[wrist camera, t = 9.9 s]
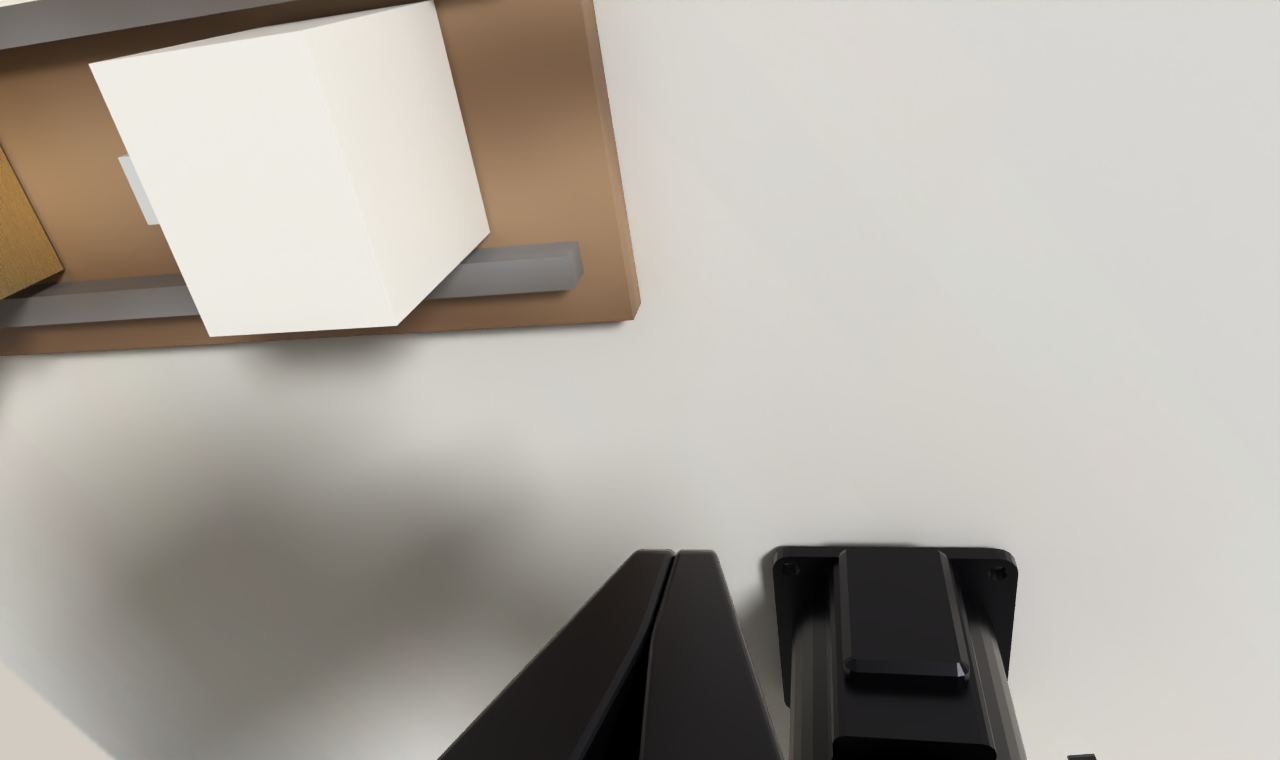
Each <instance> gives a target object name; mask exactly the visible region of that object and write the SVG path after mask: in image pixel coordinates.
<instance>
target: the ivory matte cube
mask: <svg viewBox="0 0 1280 760" xmlns="http://www.w3.org/2000/svg"><path fill="white" fill-rule="evenodd" d="M89 66H90V69H91V71H92V73H93V75H94V78H95V80H96V82H97V84H98V87H99V89H100V91H101V93H102V96H103V98H104V100H105V102H106V105H107V107H108V109H109V111H110V114H111V116H112V118H113V120H114V123H115V125H116V127H117V129H118V132H119V134H120V136H121V138H122V141H123V143H124V145H125V147H126V150H127V152H128V154H126V155H123V156H121V157H118V159H119V162H120V164H121V166H122V168H123V170H124V173H125V175H126V177H127V179H128V182H129V184H130V186H131V188H132V190H133V193H134V195H135V197H136V199H137V201H138V204H139V206H140V208H141V210H142V213H143V215H144V217H145V219H146V221H147V224H148V225H154V224H160V226H161V228H162V231H163V233H164V235H165V237H166V240H167V242H168V244H169V246H170V249H171V251H172V253H173V255H174V258H175V260H176V262H177V264H178V267H179V269H180V271H181V273H182V276H183V278H184V280H185V282H186V285H187V287H188V289H189V291H190V294H191V296H192V298H193V300H194V303H195V305H196V307H197V309H198V312H199V314H200V316H201V318H202V321H203V323H204V325H205V327H206V330H207V332H208V334H209V336H210V337H216V336H233V335H250V334H267V333H283V332H300V331H317V330H334V329H351V328H368V327H384V326H397V325H398V324H399V323H400V322H401V321H402V320H403V319H404V318H405V317H406V316H407V315H408V314H409V313H410V312H411V311H412V310H413V309H414V308H415V307H416V306H417V305H418V304H419V303H420V302H421V301H422V300H423V299H424V298H425V297H426V296H427V295H428V294H429V293H430V292H431V291H432V290H433V289H434V288H435V287H436V286H437V285H438V284H439V283H440V282H441V281H442V280H443V279H444V278H445V277H446V276H447V275H448V274H449V273H450V272H451V271H452V270H453V269H454V268H455V267H456V266H457V265H458V264H459V263H460V262H461V261H462V260H463V259H464V258H465V257H466V256H467V255H468V254H469V253H470V252H471V251H472V250H473V249H474V248H475V247H476V246H477V245H478V244H479V243H480V242H481V241H482V240H483V239H484V238H485V237H486V236H487V235H488V234H489V233H490V230H489V225H488V221H487V217H486V213H485V209H484V205H483V201H482V197H481V193H480V189H479V184H478V180H477V176H476V172H475V168H474V164H473V160H472V156H471V152H470V148H469V144H468V139H467V135H466V131H465V127H464V123H463V119H462V115H461V111H460V107H459V103H458V99H457V94H456V90H455V86H454V82H453V78H452V74H451V70H450V66H449V62H448V58H447V54H446V49H445V45H444V41H443V37H442V33H441V29H440V25H439V21H438V17H437V13H436V9H435V4H434V0H428V1H422V2H415V3H409V4H403V5H397V6H390V7H384V8H378V9H372V10H365V11H359V12H353V13H347V14H340V15H334V16H328V17H322V18H315V19H309V20H303V21H297V22H290V23H284V24H278V25H272V26H266V27H261V28H256V29H251V30H246V31H242V32H237V33H232V34H227V35H223V36H218V37H213V38H209V39H204V40H199V41H194V42H190V43H185V44H180V45H175V46H171V47H166V48H161V49H157V50H152V51H147V52H142V53H138V54H133V55H128V56H124V57H119V58H114V59H109V60H105V61H100V62H95V63H90V64H89Z"/></svg>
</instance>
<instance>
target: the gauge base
mask: <svg viewBox="0 0 1280 760" xmlns="http://www.w3.org/2000/svg"><path fill="white" fill-rule="evenodd" d="M422 1H428V0H0V147H1V148H2V150H3V152H4V154H5V156H6V158H7V160H8V162H9V164H10V166H11V168H12V170H13V172H14V174H15V176H16V177H17V179H18V181H19V183H20V185H21V187H22V189H23V191H24V193H25V195H26V197H27V199H28V201H29V203H30V205H31V206H32V208H33V210H34V212H35V214H36V216H37V218H38V220H39V222H40V224H41V226H42V228H43V230H44V232H45V234H46V236H47V237H48V239H49V241H50V243H51V245H52V247H53V249H54V251H55V253H56V255H57V257H58V259H59V261H60V263H61V265H62V266H63V268H64V270H61V271H59V272H57V273H55V274H53V275H51V276H49V277H47V278H45V279H43V280H41V281H39V282H36V283H34V284H32V285H30V286H28V287H26V288H24V289H22V290H20V291H18V292H16V293H13V294H11V295H9V296H7V297H5V298H3V299H1V300H0V356H11V355H28V354H46V353H63V352H81V351H98V350H116V349H134V348H151V347H169V346H186V345H204V344H221V343H239V342H257V341H274V340H292V339H309V338H327V337H344V336H362V335H380V334H397V333H415V332H432V331H450V330H467V329H485V328H503V327H520V326H538V325H555V324H573V323H590V322H608V321H626V320H634V318H635V315H636V313H637V311H638V308H639V306H640V304H641V301H640V294H639V288H638V282H637V275H636V269H635V263H634V257H633V250H632V244H631V238H630V231H629V225H628V219H627V213H626V206H625V200H624V194H623V187H622V181H621V175H620V169H619V162H618V156H617V150H616V143H615V137H614V131H613V125H612V118H611V112H610V106H609V99H608V93H607V87H606V81H605V74H604V68H603V62H602V55H601V49H600V43H599V37H598V30H597V24H596V18H595V11H594V5H593V0H434V4H435V9H436V13H437V17H438V21H439V25H440V29H441V33H442V37H443V41H444V45H445V49H446V54H447V58H448V62H449V66H450V70H451V74H452V78H453V82H454V86H455V90H456V94H457V99H458V103H459V107H460V111H461V115H462V119H463V123H464V127H465V131H466V135H467V139H468V144H469V148H470V152H471V156H472V160H473V164H474V168H475V172H476V176H477V180H478V184H479V189H480V193H481V197H482V201H483V205H484V209H485V213H486V217H487V221H488V225H489V230H490V233H489V234H488V235H487V236H486V237H485V238H484V239H483V240H482V241H481V242H480V243H479V244H478V245H477V246H476V247H475V248H474V249H473V250H472V251H471V252H470V253H469V254H468V255H467V256H466V257H465V258H464V259H463V260H462V261H461V262H460V263H459V264H458V265H457V266H456V267H455V268H454V269H453V270H452V271H451V272H450V273H449V274H448V275H447V276H446V277H445V278H444V279H443V280H442V281H441V282H440V283H439V284H438V285H437V286H436V287H435V288H434V289H433V290H432V291H431V292H430V293H429V294H428V295H427V296H426V297H425V298H424V299H423V300H422V301H421V302H420V303H419V304H418V305H417V306H416V307H415V308H414V309H413V310H412V311H411V312H410V313H409V314H408V315H407V316H406V317H405V318H404V319H403V320H402V321H401V322H400V323H399V324H398V325H397V326H384V327H368V328H351V329H334V330H317V331H300V332H283V333H267V334H250V335H233V336H216V337H210V336H209V334H208V332H207V330H206V327H205V325H204V323H203V321H202V318H201V316H200V314H199V312H198V309H197V307H196V305H195V303H194V300H193V298H192V296H191V294H190V291H189V289H188V287H187V285H186V282H185V280H184V278H183V276H182V273H181V271H180V269H179V267H178V264H177V262H176V260H175V258H174V255H173V253H172V251H171V249H170V246H169V244H168V242H167V240H166V237H165V235H164V233H163V231H162V228H161V226H160V224H154V225H148V224H147V221H146V219H145V217H144V215H143V213H142V210H141V208H140V206H139V204H138V201H137V199H136V197H135V195H134V193H133V190H132V188H131V186H130V184H129V182H128V179H127V177H126V175H125V173H124V170H123V168H122V166H121V164H120V162H119V159H118V157H121V156H123V155H126V154H128V152H127V150H126V147H125V145H124V143H123V141H122V138H121V136H120V134H119V132H118V129H117V127H116V125H115V123H114V120H113V118H112V116H111V114H110V111H109V109H108V107H107V105H106V102H105V100H104V98H103V96H102V93H101V91H100V89H99V87H98V84H97V82H96V80H95V78H94V75H93V73H92V71H91V69H90V66H89V64H90V63H95V62H100V61H105V60H109V59H114V58H119V57H124V56H128V55H133V54H138V53H142V52H147V51H152V50H157V49H161V48H166V47H171V46H175V45H180V44H185V43H190V42H194V41H199V40H204V39H209V38H213V37H218V36H223V35H227V34H232V33H237V32H242V31H246V30H251V29H256V28H261V27H266V26H272V25H278V24H284V23H290V22H297V21H303V20H309V19H315V18H322V17H328V16H334V15H340V14H347V13H353V12H359V11H365V10H372V9H378V8H384V7H390V6H397V5H403V4H409V3H415V2H422Z"/></svg>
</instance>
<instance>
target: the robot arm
mask: <svg viewBox="0 0 1280 760" xmlns="http://www.w3.org/2000/svg"><path fill="white" fill-rule="evenodd" d="M787 563H793V564H795V565H797V566H795V567H788V566H786V565H784V564H787ZM994 566H1002V567H1003V568H1001V569H998V570H992V569H991V568H992V567H994ZM773 579H774V590H775V601H776V612H777V624H778V635H779V646H780V657H781V668H782V679H783V690H784V701H785V703H786V705H787V706H788V707H789V708H790V740H789V760H1027V758H1026V754H1025V750H1024V746H1023V742H1022V738H1021V734H1020V730H1019V726H1018V722H1017V718H1016V714H1015V710H1014V706H1013V702H1012V698H1011V694H1010V690H1009V686H1008V682H1007V681H1008V671H1009V661H1010V651H1011V641H1012V631H1013V621H1014V611H1015V601H1016V591H1017V581H1018V570H1017V566H1016V562H1015V559H1014V557H1013V556H1012V555H1011V554H1010V553H1009V552H1007V551H1005V550H1001V549H963V548H853V547H786V548H782V549H780V550H778V551H777V552H776V553H775V555H774V558H773ZM1067 758H1068V760H1096V757H1095V755H1094V754H1084V755H1070V756H1067ZM437 760H784V758H783V755H782V752H781V749H780V746H779V743H778V740H777V737H776V734H775V731H774V728H773V725H772V722H771V719H770V715H769V712H768V709H767V706H766V703H765V700H764V697H763V694H762V691H761V688H760V685H759V682H758V679H757V676H756V673H755V669H754V666H753V663H752V660H751V657H750V654H749V651H748V648H747V645H746V642H745V639H744V636H743V633H742V630H741V627H740V623H739V620H738V617H737V614H736V611H735V608H734V605H733V602H732V599H731V596H730V593H729V590H728V587H727V584H726V581H725V577H724V574H723V571H722V568H721V565H720V562H719V559H718V556H717V554H716V553H715V552H714V551H713V550H680V551H679V552H677V553H676V554H675V552H673V551H672V550H669V549H640V550H637V551H636V552H634V553H633V554H632V555H631V556H630V557H629V558H628V559H627V560H626V561H625V562H624V563H623V564H622V565H621V566H620V567H619V568H618V570H617V571H616V572H615V573H614V574H613V575H612V576H611V577H610V578H609V579H608V580H607V581H606V582H605V583H604V584H603V585H602V586H601V587H600V588H599V590H598V591H597V592H596V593H595V594H594V595H593V596H592V597H591V598H590V599H589V600H588V601H587V602H586V603H585V604H584V605H583V606H582V607H581V608H580V610H579V611H578V612H577V613H576V614H575V615H574V616H573V617H572V618H571V619H570V620H569V621H568V622H567V623H566V624H565V625H564V626H563V627H562V628H561V630H560V631H559V632H558V633H557V634H556V635H555V636H554V637H553V638H552V639H551V640H550V641H549V642H548V643H547V644H546V645H545V646H544V647H543V649H542V650H541V651H540V652H539V653H538V654H537V655H536V656H535V657H534V658H533V659H532V660H531V661H530V662H529V663H528V664H527V665H526V666H525V667H524V669H523V670H522V671H521V672H520V673H519V674H518V675H517V676H516V677H515V678H514V679H513V680H512V681H511V682H510V683H509V684H508V685H507V686H506V687H505V689H504V690H503V691H502V692H501V693H500V694H499V695H498V696H497V697H496V698H495V699H494V700H493V701H492V702H491V703H490V704H489V705H488V706H487V707H486V709H485V710H484V711H483V712H482V713H481V714H480V715H479V716H478V717H477V718H476V719H475V720H474V721H473V722H472V723H471V724H470V725H469V726H468V727H467V729H466V730H465V731H464V732H463V733H462V734H461V735H460V736H459V737H458V738H457V739H456V740H455V741H454V742H453V743H452V744H451V745H450V746H449V747H448V749H447V750H446V751H445V752H444V753H443V754H442V755H441V756H440V757H439V758H438V759H437Z"/></svg>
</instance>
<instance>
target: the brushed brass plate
mask: <svg viewBox="0 0 1280 760" xmlns="http://www.w3.org/2000/svg"><path fill="white" fill-rule="evenodd" d="M61 270H64V268H63V266H62V265H61V263H60V261H59V259H58V257H57V255H56V253H55V251H54V249H53V247H52V245H51V243H50V241H49V239H48V237H47V236H46V234H45V232H44V230H43V228H42V226H41V224H40V222H39V220H38V218H37V216H36V214H35V212H34V210H33V208H32V206H31V205H30V203H29V201H28V199H27V197H26V195H25V193H24V191H23V189H22V187H21V185H20V183H19V181H18V179H17V177H16V176H15V174H14V172H13V170H12V168H11V166H10V164H9V162H8V160H7V158H6V156H5V154H4V152H3V150H2V148H1V147H0V300H1V299H3V298H5V297H7V296H9V295H11V294H13V293H16V292H18V291H20V290H22V289H24V288H26V287H28V286H30V285H32V284H34V283H36V282H39V281H41V280H43V279H45V278H47V277H49V276H51V275H53V274H55V273H57V272H59V271H61Z"/></svg>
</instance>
